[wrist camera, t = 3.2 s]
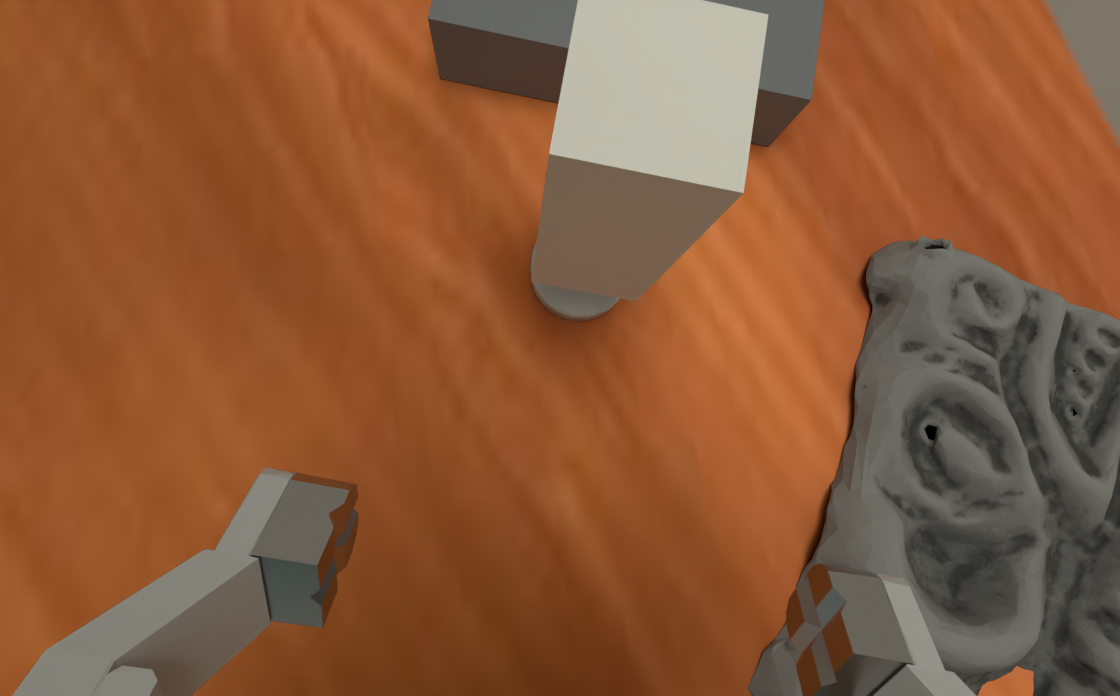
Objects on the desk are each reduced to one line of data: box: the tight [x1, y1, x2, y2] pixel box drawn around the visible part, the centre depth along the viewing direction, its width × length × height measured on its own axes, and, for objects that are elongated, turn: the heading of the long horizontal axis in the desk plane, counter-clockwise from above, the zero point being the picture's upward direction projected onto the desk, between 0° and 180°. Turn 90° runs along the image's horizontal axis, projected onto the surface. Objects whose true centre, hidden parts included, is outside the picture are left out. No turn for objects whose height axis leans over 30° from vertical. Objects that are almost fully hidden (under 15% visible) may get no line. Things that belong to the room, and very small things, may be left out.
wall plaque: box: [748, 236, 1120, 696], centre depth 28 cm, size 24×19×4 cm
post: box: [530, 0, 768, 321], centre depth 21 cm, size 4×4×16 cm
